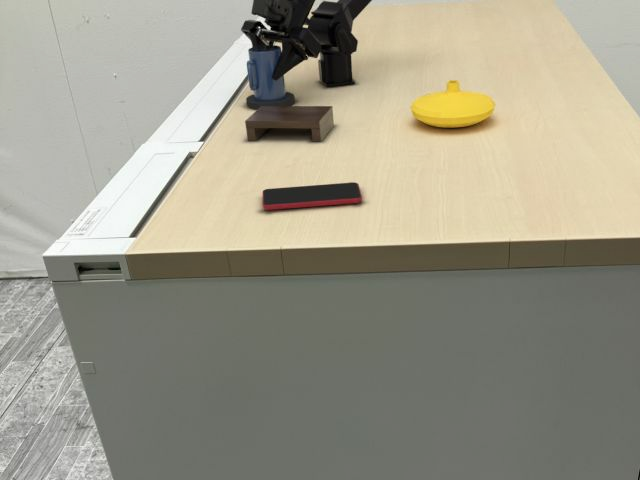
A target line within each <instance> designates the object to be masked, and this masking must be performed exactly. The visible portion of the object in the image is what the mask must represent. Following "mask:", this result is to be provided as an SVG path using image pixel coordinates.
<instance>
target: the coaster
mask: <svg viewBox="0 0 640 480" xmlns="http://www.w3.org/2000/svg"><path fill="white" fill-rule="evenodd" d="M245 102H246V106H247V108H249V109H250V110H251V109H252V110H255V111H256V110H258V109H259V108H260V107H261V106H293V105H294V104H295V102H296V99H295V94H294V93H293V92H289V91H286V97H285V98H283V99H280V100H276V101H258V100H255V98H254V93H253V94H251V95H248V96H247V97H246V99H245Z"/></svg>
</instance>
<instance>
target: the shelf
mask: <svg viewBox="0 0 640 480" xmlns="http://www.w3.org/2000/svg"><path fill="white" fill-rule="evenodd" d="M244 123H245V124H244V125H245V129H246V137H247V141H248V142H257V140H259V139H260V138H261V137H262V136H263V135H264V134H265V132H266V131H267V130H269V129H311V139H312V142H313V143H316V142H317V143H321V142H323V140H324V139H325V138H326V136H327V135H328V134H329V133H330V131H331V130H332V128H334V126H335V124H334V123H335V122H334V109H333V106H332V105H290V106H261V107H260V108H259V109H258V110H256V109H255V111H254V112H253V113H252V114H251V115H249V116H248V117H247V119H245V121H244Z"/></svg>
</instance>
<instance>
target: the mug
mask: <svg viewBox="0 0 640 480" xmlns="http://www.w3.org/2000/svg"><path fill="white" fill-rule="evenodd" d="M281 52H282V46H280V45H277V44H273V45H263V46H256V47H252V46H251V47H250V48H248V50H247V53H248V60H247V61H246V70H247V79H248V85H249V86H248V87H249V89H250V91H252V92H253V94H254V98H255V100H258V101H276V100H280V99H283V98H285V97H286V92H287V91H286V82H285V81H286V80H285V74H284V75H283V76H282V77H280V78H279V79H278V80H276V81H275V80H274V79H273V78H272V75H273V72H274V69H275V67H276V64H277V62H278V59H279V57H280V54H281Z"/></svg>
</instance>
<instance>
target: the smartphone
mask: <svg viewBox="0 0 640 480" xmlns="http://www.w3.org/2000/svg"><path fill="white" fill-rule="evenodd" d="M362 200H363V195H362V192H361V188H360V184H359V183H358V182H340V183H327V184H314V185H302V186H299V185H298V186H287V187H274V188H273V187H272V188H266V189H263V190H262V207H263V209H265V210H266V211H273V210H286V209H298V208H299V209H300V208H312V207H323V206H324V207H325V206H336V205H349V204H358V203H360V202H361V201H362Z"/></svg>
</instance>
